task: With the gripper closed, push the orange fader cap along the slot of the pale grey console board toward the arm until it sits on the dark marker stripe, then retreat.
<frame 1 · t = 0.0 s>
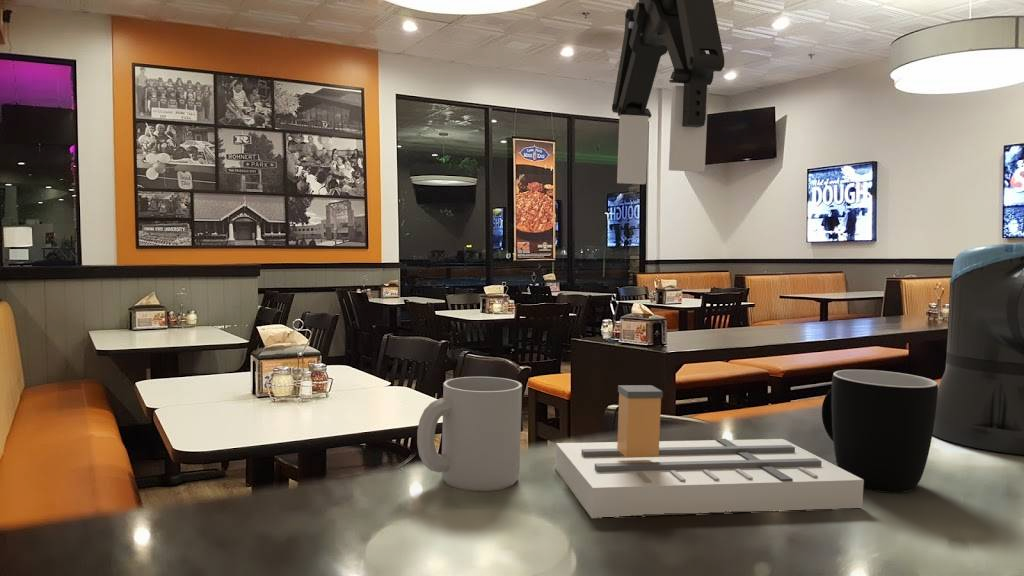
hand: (656, 178, 65), 28 cm above the table, fingers open, 13 cm apart
fader cap: (638, 420, 66), point 6 cm above the table, slide at 6.0 cm
console: (698, 487, 67), on the table
mug: (865, 479, 72), on the table
cup: (466, 483, 67), on the table
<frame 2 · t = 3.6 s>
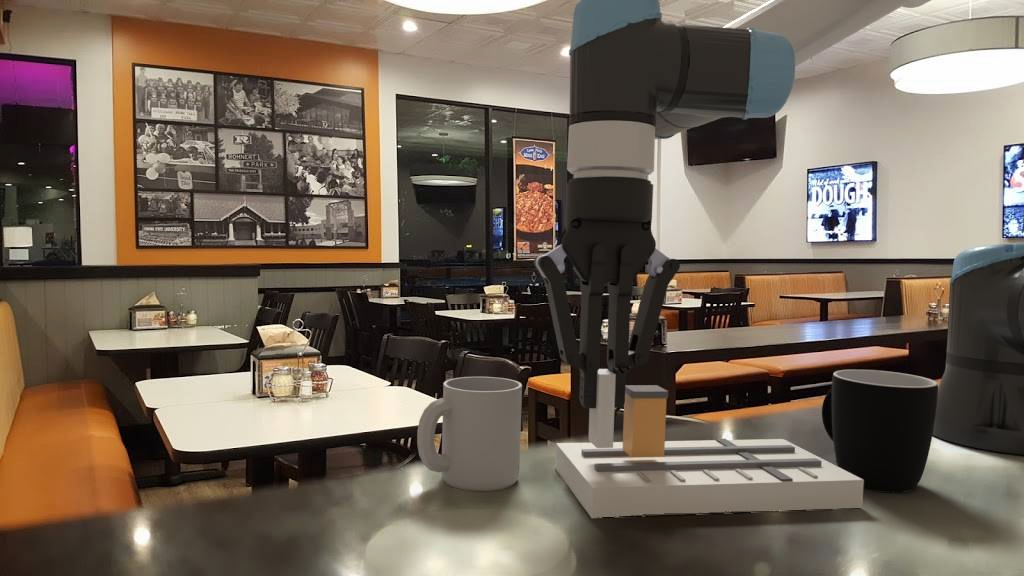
hand: (600, 443, 65), 4 cm above the table, fingers closed
fader cap: (644, 420, 66), point 6 cm above the table, slide at 5.5 cm, touching gripper
everything else where it was.
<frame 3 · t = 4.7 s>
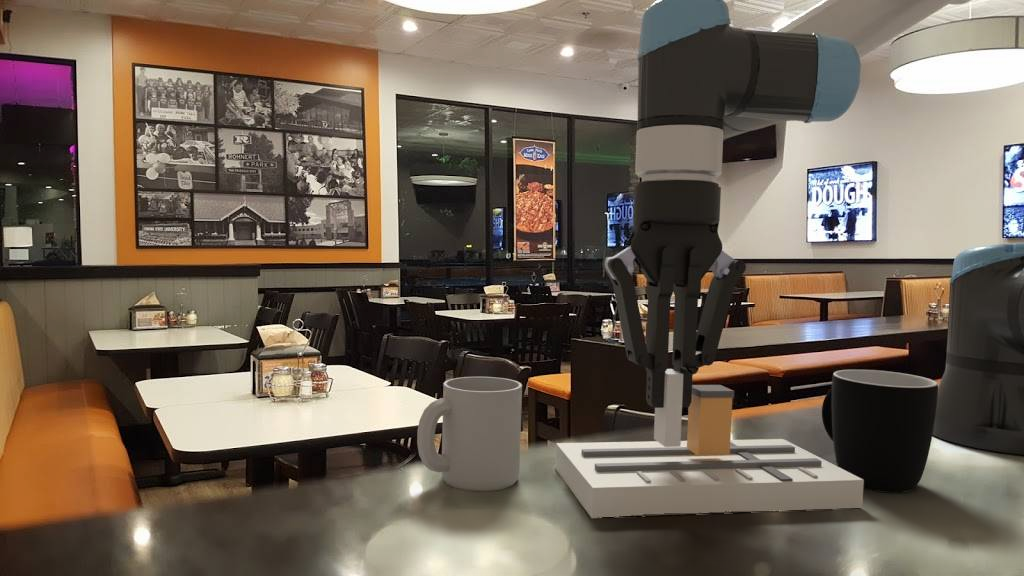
hand: (666, 442, 66), 4 cm above the table, fingers closed
fader cap: (709, 419, 67), point 6 cm above the table, slide at -0.8 cm, touching gripper
everything else where it was.
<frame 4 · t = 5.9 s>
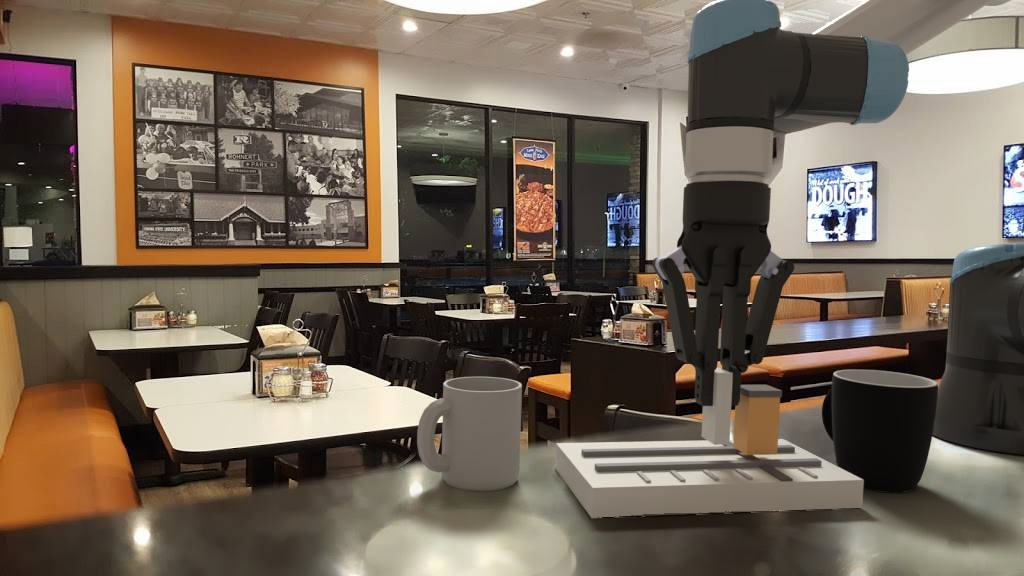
hand: (715, 440, 67), 4 cm above the table, fingers closed
fader cap: (756, 419, 68), point 6 cm above the table, slide at -5.4 cm, touching gripper
everything else where it was.
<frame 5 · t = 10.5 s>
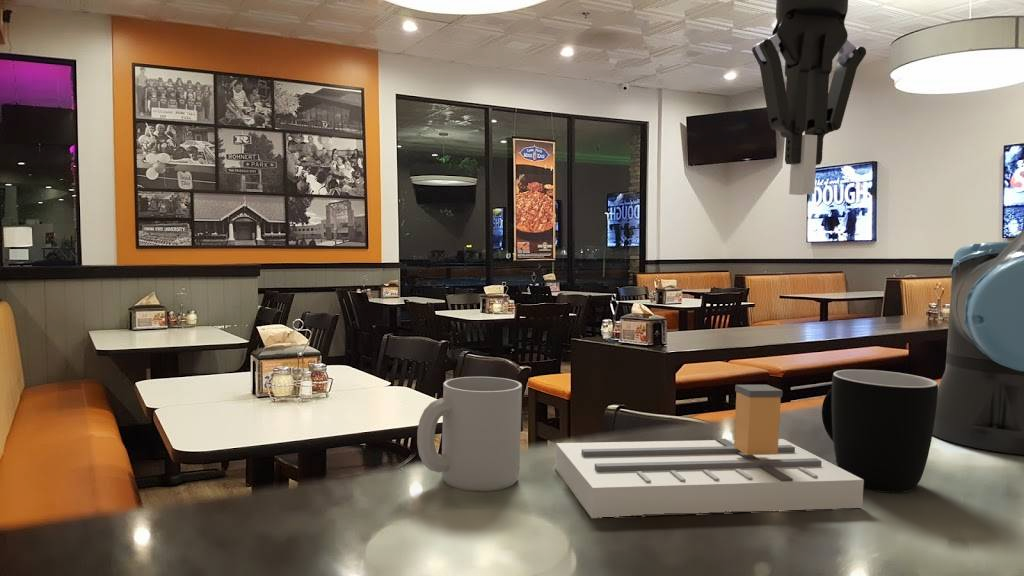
hand: (801, 193, 84), 28 cm above the table, fingers closed
fader cap: (757, 419, 68), point 6 cm above the table, slide at -5.4 cm
everything else where it was.
at the end: fader cap slide at -5.4 cm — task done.
